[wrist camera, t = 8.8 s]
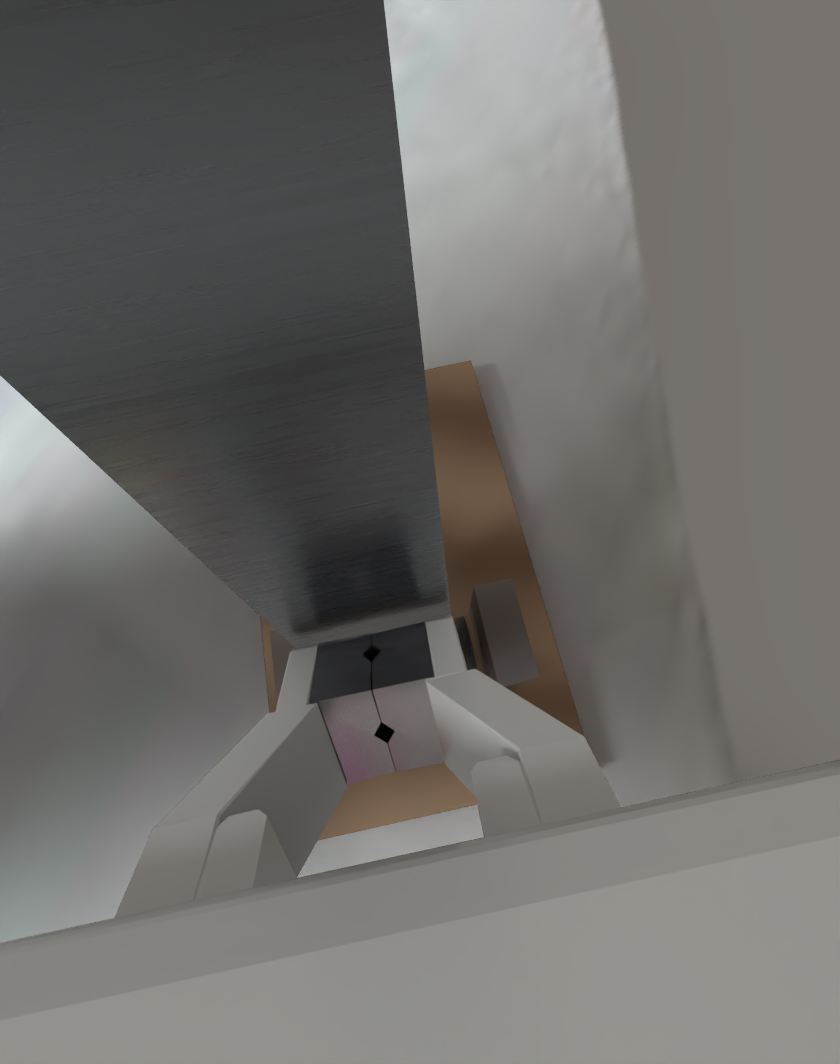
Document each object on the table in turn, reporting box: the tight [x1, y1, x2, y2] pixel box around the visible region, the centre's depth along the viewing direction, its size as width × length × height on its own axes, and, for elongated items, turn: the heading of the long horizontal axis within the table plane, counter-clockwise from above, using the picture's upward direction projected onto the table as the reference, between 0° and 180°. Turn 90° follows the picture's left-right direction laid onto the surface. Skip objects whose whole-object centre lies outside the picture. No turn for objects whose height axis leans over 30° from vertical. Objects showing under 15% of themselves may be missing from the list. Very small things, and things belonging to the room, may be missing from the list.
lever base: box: [260, 361, 584, 840], centre depth 18 cm, size 18×11×5 cm, turn 12°
